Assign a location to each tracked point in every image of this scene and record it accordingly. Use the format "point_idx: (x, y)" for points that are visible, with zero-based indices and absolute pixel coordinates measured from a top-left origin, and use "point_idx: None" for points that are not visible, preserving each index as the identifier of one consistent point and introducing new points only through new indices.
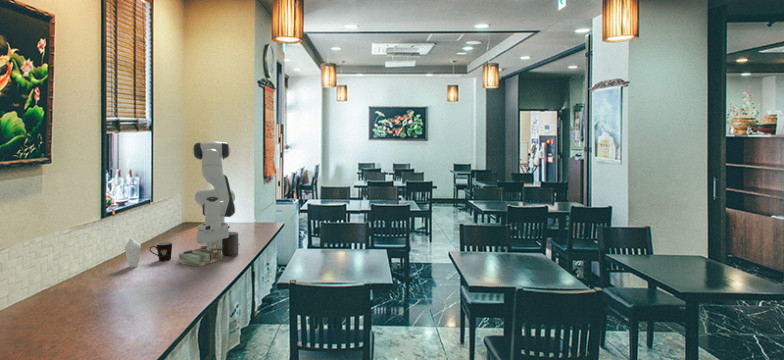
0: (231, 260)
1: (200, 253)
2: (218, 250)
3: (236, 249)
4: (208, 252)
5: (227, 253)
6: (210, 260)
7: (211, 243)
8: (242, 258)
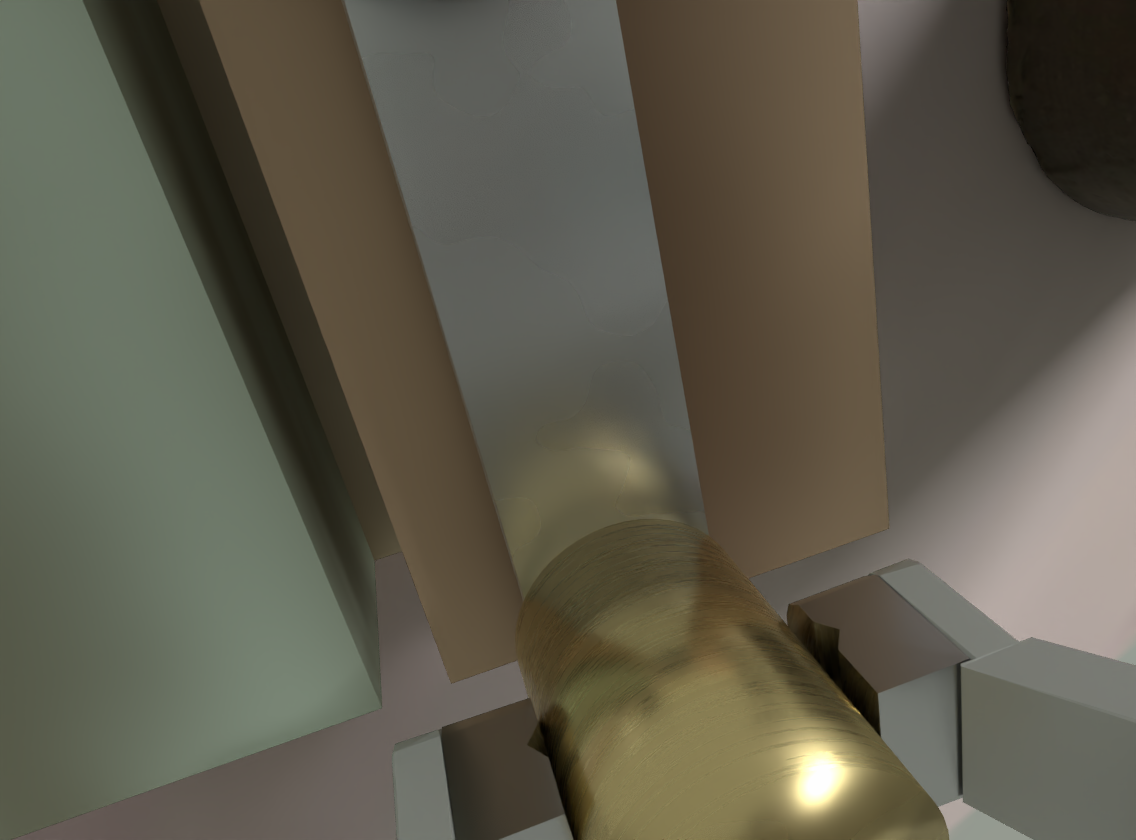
0: (864, 567)
1: (17, 419)
2: (879, 377)
3: None
4: (425, 459)
5: (1109, 153)
6: (392, 551)
7: (707, 834)
8: (1088, 542)
